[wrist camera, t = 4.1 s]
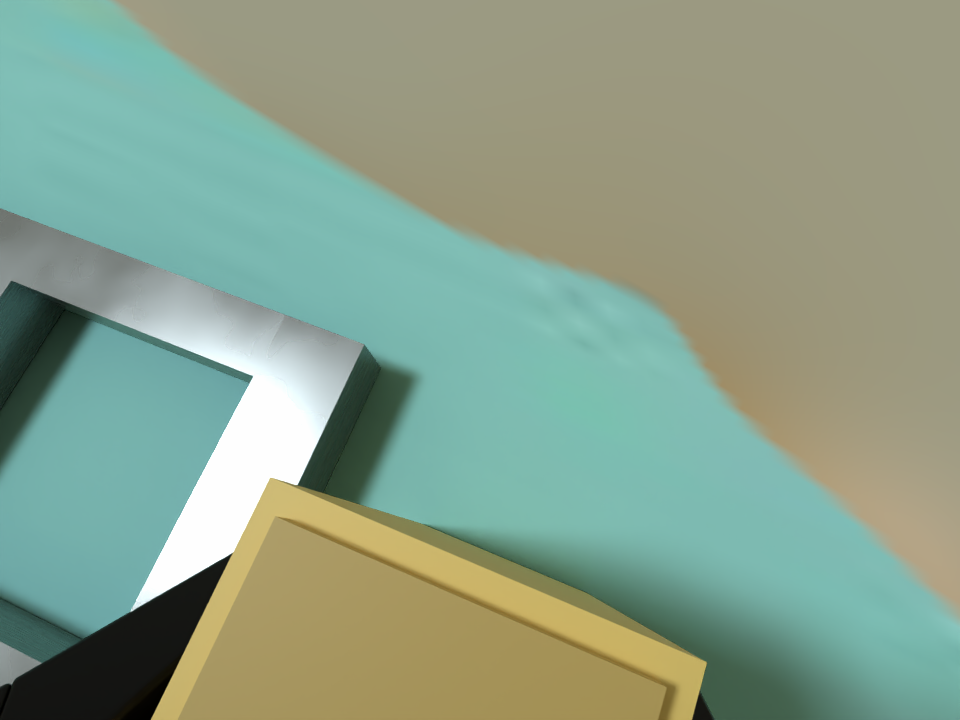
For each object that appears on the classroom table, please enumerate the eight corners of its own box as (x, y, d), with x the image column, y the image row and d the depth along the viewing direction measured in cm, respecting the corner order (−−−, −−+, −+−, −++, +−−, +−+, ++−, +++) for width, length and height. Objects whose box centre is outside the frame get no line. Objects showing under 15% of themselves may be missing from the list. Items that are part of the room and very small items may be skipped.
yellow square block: (530, 765, 14) (558, 1278, 4) (355, 682, 15) (23, 946, 5) (586, 592, 15) (716, 668, 5) (420, 523, 16) (258, 473, 6)
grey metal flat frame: (186, 787, 14) (132, 826, 12) (-307, 526, 17) (-419, 522, 15) (380, 367, 17) (363, 343, 15) (-64, 199, 20) (-130, 159, 18)
